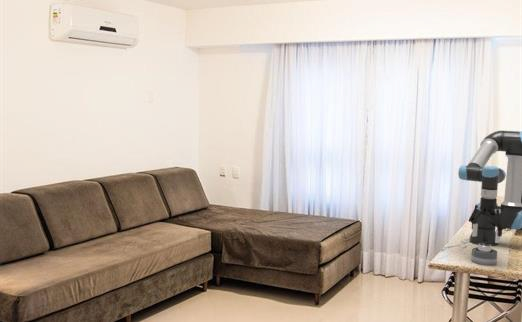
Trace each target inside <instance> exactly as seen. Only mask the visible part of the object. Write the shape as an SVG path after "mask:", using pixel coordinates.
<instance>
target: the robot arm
mask: <svg viewBox="0 0 522 322" xmlns="http://www.w3.org/2000/svg"><path fill="white" fill-rule="evenodd" d="M479 146H480V147H479V148H478V149H477V151H476V152H475V154H474V155H473V157H472V159H471V160H470V161H469V163H468V164H467V165H460V166H459V168H458V173H457V174H458V178H459V179H460V180H462V181H465V182H466V181H468V182H469V181H471V182H480V183H481V187H480V190H481V191H480V202H478V203H477V204H475V206H474V209H473V211H472V213H471V215H470V217H469V218H468V222H470V223H471V230H472V231H471V233H470V236H469V242H470V243H472V244H475V245H479V243H482V242H484V243H489V244H491V247H492V246H493V247H494V246H497V245H498V244H499V243H501V237H502V236H503V230H506V229H510V230H521V229H522V131H520V130H519V131H517V130H514V131H513V130H496V131H494V132H492V133H489V134H488V135H487V136H485V137H484V138H483V140H482V141H481V142H480V145H479ZM497 152H505V156H506V158H507V166H506V172H505V170H504V169H503V168H501V167H497V166H494V165H487V163H488V162H489V161H490V159H491V157H492V156H493V155H494V154H496V153H497ZM504 181H505V188H504V198H503V199H504V200H503V201H502V202H501V203H500V205H498V203H497V200H498V199H497V198H498V188H499V184H500V183H503V182H504Z"/></svg>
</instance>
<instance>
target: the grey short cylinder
mask: <svg viewBox="0 0 522 322" xmlns="http://www.w3.org/2000/svg"><path fill="white" fill-rule="evenodd" d="M470 260H471V263H473V264H477V265H479V266H480V265H481V266H488V267H489V266H496V265H497V264H498V250H496V249H493V248H491V252H481V251H478V247H472V250H471V258H470Z"/></svg>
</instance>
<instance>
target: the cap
mask: <svg viewBox="0 0 522 322" xmlns="http://www.w3.org/2000/svg"><path fill="white" fill-rule="evenodd" d="M477 245H478V251H481V252H491V249H492V246H491V244H489V243H484V242H482V243H479V244H477Z"/></svg>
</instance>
